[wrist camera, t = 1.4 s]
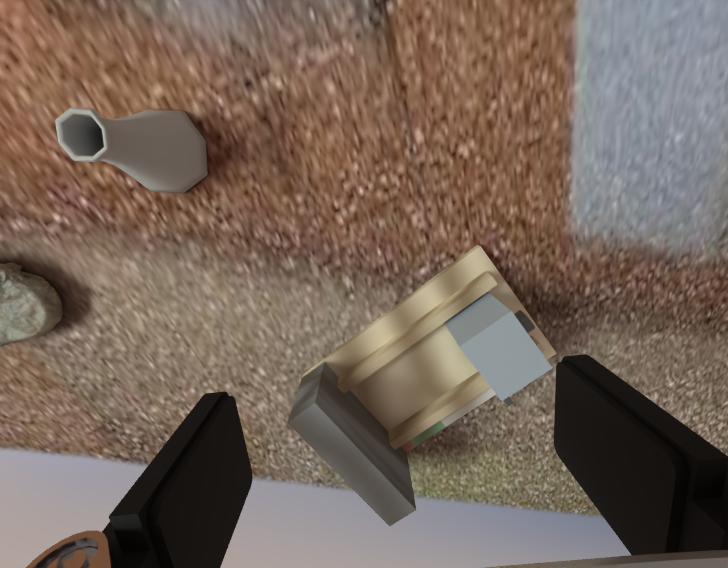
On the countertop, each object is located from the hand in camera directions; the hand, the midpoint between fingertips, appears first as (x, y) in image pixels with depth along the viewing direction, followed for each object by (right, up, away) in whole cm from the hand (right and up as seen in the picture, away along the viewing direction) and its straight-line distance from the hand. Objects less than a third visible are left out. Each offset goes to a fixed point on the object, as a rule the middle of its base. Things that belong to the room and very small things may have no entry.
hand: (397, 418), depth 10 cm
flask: (-18, +16, +21) cm, 32 cm away
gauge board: (+6, -4, +26) cm, 27 cm away
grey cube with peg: (+12, -2, +25) cm, 28 cm away
